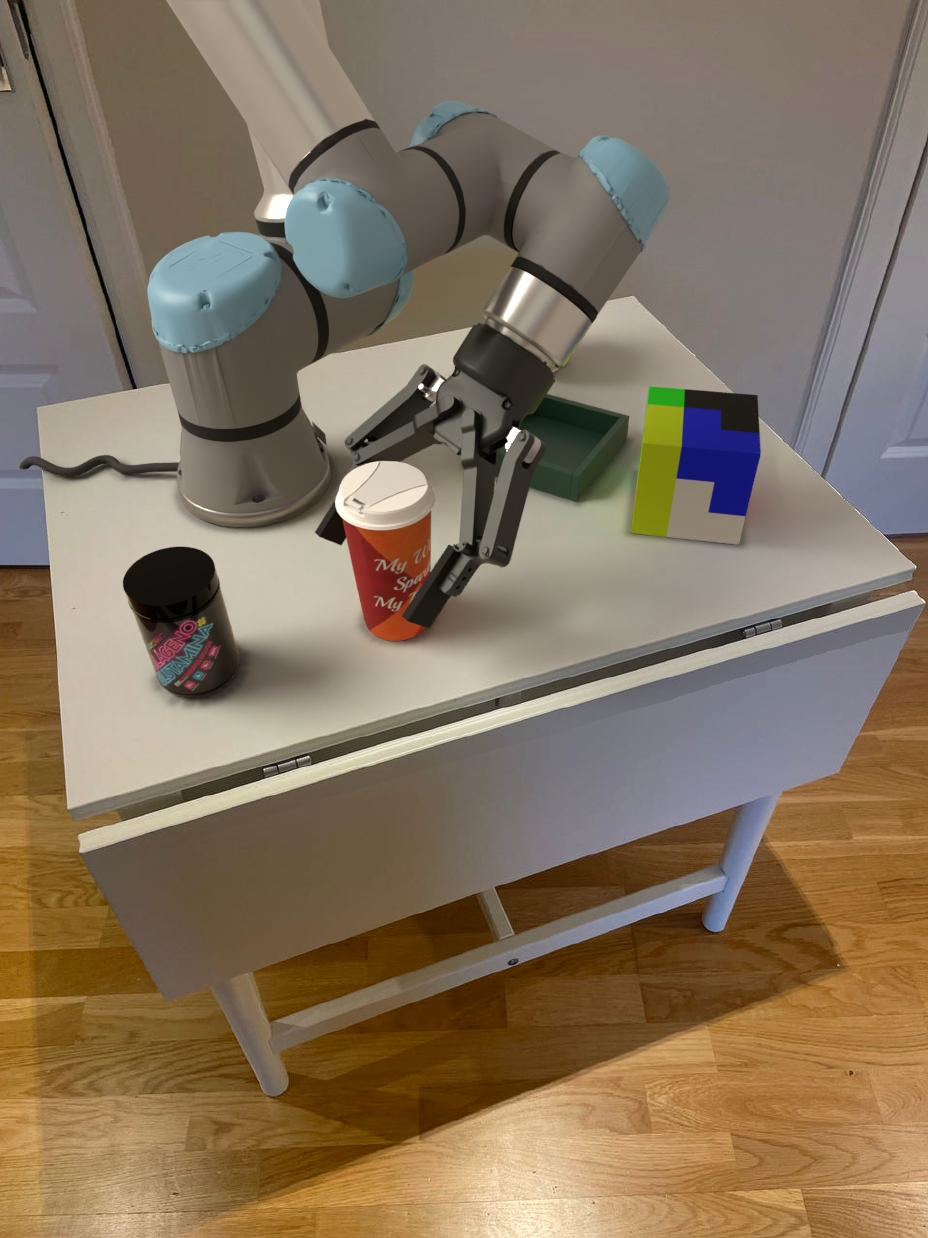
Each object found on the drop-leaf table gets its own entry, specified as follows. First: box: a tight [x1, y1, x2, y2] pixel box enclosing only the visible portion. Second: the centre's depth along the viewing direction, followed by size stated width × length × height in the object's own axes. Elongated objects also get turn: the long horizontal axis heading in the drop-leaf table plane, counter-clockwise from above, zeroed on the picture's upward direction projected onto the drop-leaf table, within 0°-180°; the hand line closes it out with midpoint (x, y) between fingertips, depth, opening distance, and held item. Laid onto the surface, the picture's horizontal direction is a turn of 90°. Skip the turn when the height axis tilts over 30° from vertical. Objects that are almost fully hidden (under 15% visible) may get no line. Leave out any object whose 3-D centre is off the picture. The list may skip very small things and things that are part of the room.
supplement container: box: [122, 546, 241, 698], centre depth 71 cm, size 7×7×10 cm
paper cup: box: [334, 461, 436, 642], centre depth 74 cm, size 8×8×14 cm
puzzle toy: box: [630, 385, 762, 546], centre depth 86 cm, size 10×10×10 cm
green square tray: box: [495, 393, 630, 503], centre depth 95 cm, size 13×13×3 cm
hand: (369, 578), depth 73 cm, fingers open, 12 cm apart
